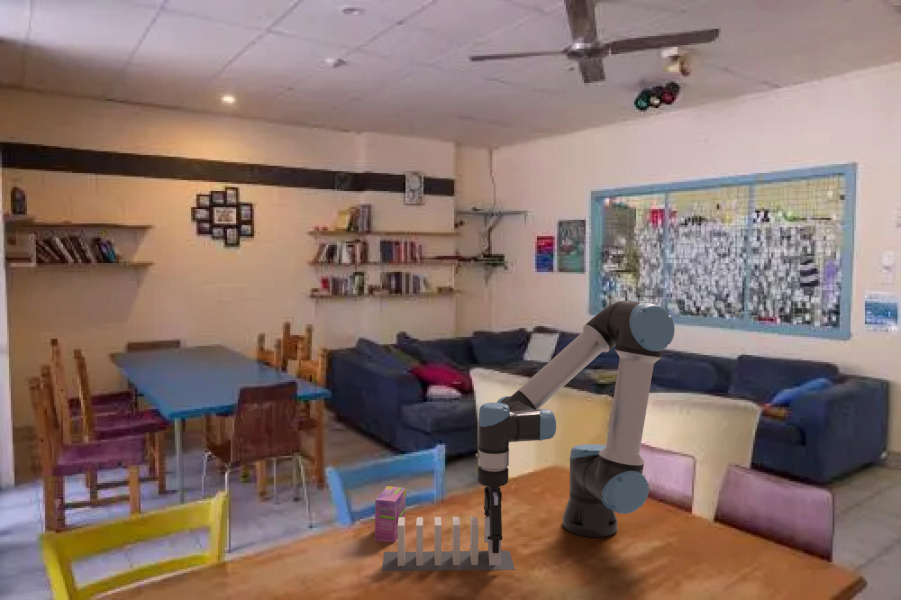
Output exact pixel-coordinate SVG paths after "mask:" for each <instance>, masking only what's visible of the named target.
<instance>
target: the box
mask: <svg viewBox="0 0 901 600" xmlns="http://www.w3.org/2000/svg"><path fill="white" fill-rule="evenodd" d="M406 492H407V490H406V487H403V486H402V487H399V486H389V485H386V486H385V488H383V490H382V491H381V492H380V493H379V495H378V496H377V497H376V499H375V502H374V503H375V506H374V514H375V515H374V541H375V542H383V543H396V542H397V541H398V518H399V517H405V518H406V494H407V493H406Z"/></svg>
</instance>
